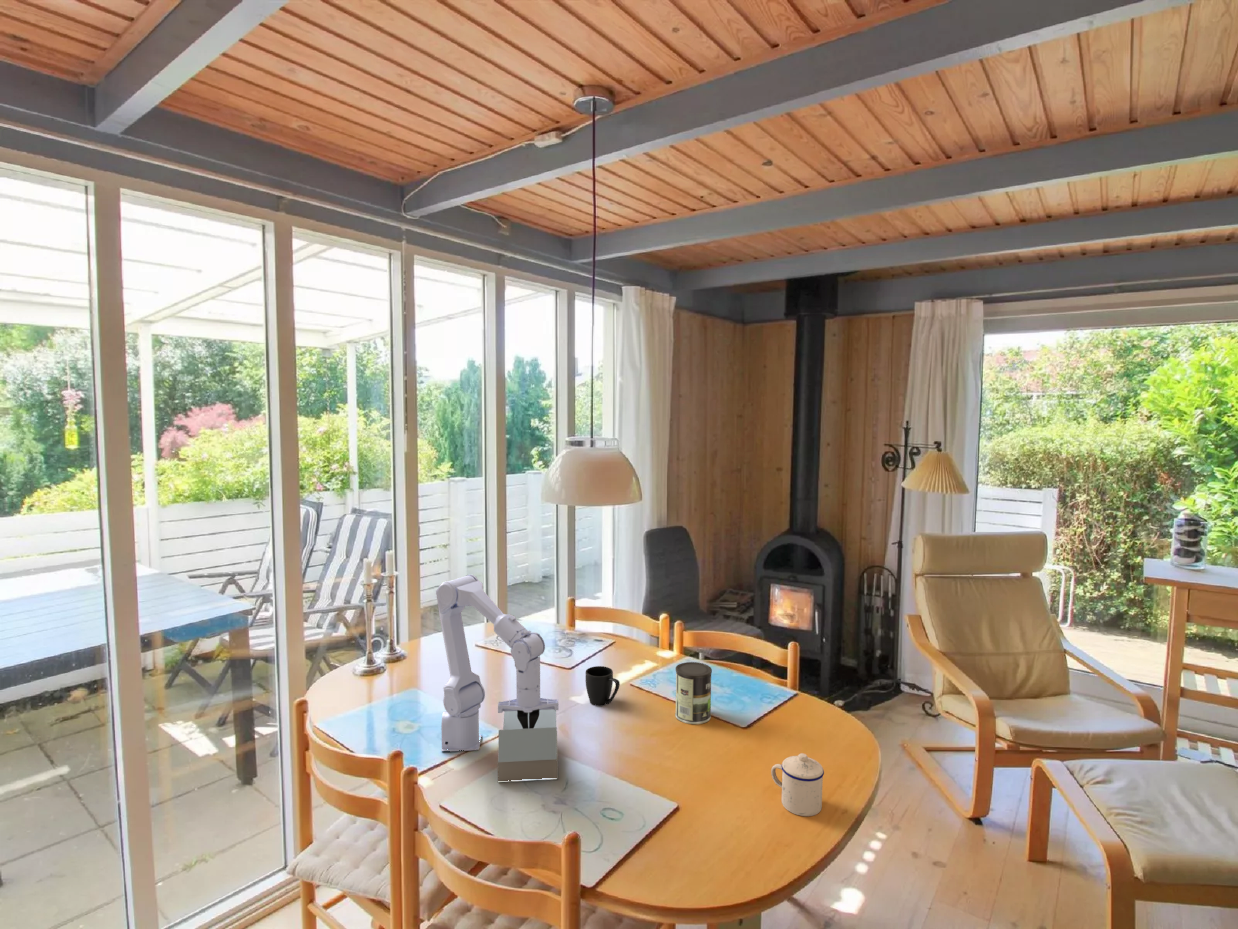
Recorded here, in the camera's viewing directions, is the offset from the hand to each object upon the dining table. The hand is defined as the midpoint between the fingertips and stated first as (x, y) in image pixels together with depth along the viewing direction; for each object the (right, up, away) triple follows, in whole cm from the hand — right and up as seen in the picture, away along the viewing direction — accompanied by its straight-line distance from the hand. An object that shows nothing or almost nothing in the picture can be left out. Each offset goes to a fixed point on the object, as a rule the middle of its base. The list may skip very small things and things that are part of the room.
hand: (528, 738), depth 159 cm
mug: (+17, -5, +36) cm, 40 cm away
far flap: (-1, +1, +12) cm, 12 cm away
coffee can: (+43, -6, +28) cm, 52 cm away
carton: (0, -7, +2) cm, 7 cm away
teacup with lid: (+62, -9, -13) cm, 64 cm away
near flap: (+1, +1, -5) cm, 6 cm away
